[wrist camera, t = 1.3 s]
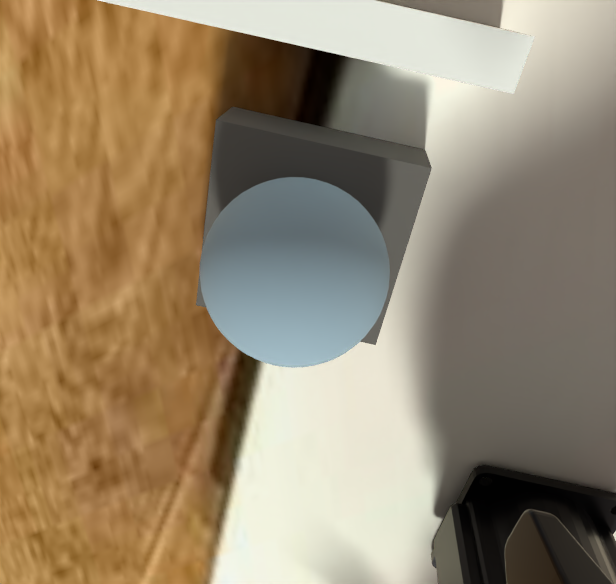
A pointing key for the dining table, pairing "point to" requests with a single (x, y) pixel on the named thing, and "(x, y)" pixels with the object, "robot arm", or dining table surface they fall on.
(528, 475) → the robot arm
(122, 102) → the dining table surface
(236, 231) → the ball
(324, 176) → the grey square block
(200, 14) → the divider wall
